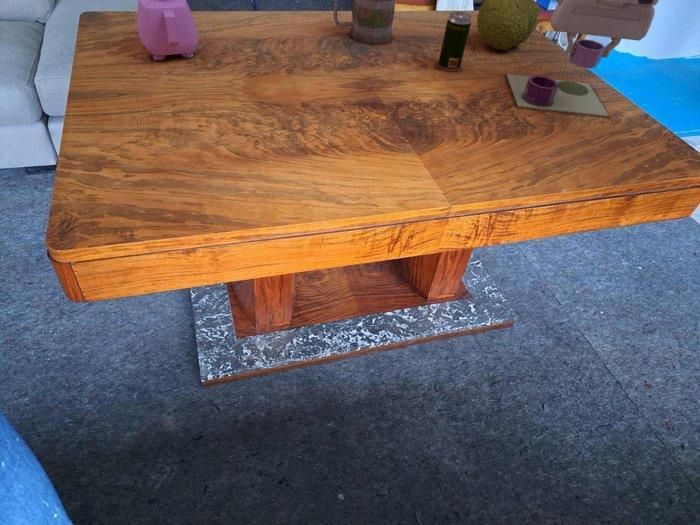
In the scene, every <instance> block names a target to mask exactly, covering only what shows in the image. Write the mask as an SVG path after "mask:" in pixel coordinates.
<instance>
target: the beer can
mask: <svg viewBox="0 0 700 525" xmlns="http://www.w3.org/2000/svg"><path fill="white" fill-rule="evenodd" d="M471 24H472V16H471V14H469V13H468V12H463V11H458V10H457V11H456V10H455V11H451V12H450V13H449V15H448V17H447V19H446V24H445V29H444V35H443V40H442V44H441V49H440V54H439V58H438V68H440V70H442V71H445V72H450V73H451V72H452V73H453V72H457V71H458V70H460V68H461V66H462V61H463V58H464V53H465V49H466V45H467V41H468V38H469V34H470V28H471Z"/></svg>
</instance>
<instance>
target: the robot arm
mask: <svg viewBox="0 0 700 525" xmlns="http://www.w3.org/2000/svg"><path fill="white" fill-rule="evenodd" d="M659 1H660V0H557V3H556V6H555V8H554V10H553V13H552V15H551V18H550V20H549V24H550V26H551V29H552V30H553V31H554V32H560V33H566V39H567V46H566V49H565V52H566V54H569V55H570V54H574V52H575V50H576V47H577V46H576V45H575V44H574V43H575V42H574V41H573V40H574V39H576V37H577V35H585V36H594V37H595V36H596V37H602V38H603V37H604V38H610V40H611V41H609V43H607V45H606V46H604V47H605V51H604V53H603V56H602V58H605V59H606V58H608V57H609V55H610V53H611V51H612V50H614V49H615V48H616V47H617V46H618V45H620V43H621V41H622V40H631V41H639V42H640V41H641V40H642V39H644V38H645V37H646V36H647V35H648V33H649V30H650V28H651V25H652V22H653V20H654V17H655V15H656V14H655V12H656V10H655V7H654V6H656V5H657V4H658V3H659Z"/></svg>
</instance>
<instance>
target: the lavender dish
mask: <svg viewBox="0 0 700 525" xmlns="http://www.w3.org/2000/svg"><path fill="white" fill-rule="evenodd" d="M573 43H574V44H575V45H576V46H577V47H576V50H575V52H574V54H570V53H569V58H568V60H569V62H570V63H571V64H572V65H575V67H576V66H577V67H580V68H583V69H595V68H597V67H598V65H599V64H600V62H601V60H602V58H603V57H602V56H603V53H604V51H605V47H606V46H604V44H602V43H601V42H598V41H595V40H592V39H586V38H585V39H584V38H580V39H577V40H575V41H574V42H573Z"/></svg>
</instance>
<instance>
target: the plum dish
mask: <svg viewBox="0 0 700 525" xmlns="http://www.w3.org/2000/svg"><path fill="white" fill-rule="evenodd" d="M529 77H530V78H529V79H528V82H527V85H526V87H525V90H524V99H525V100H526V101H528V102H530V103H532V104H535V105H540V106H546V105H549V104H551V102H552V100H554V97H555V95H556V92H557V89H558V87H559V85H558V83H557V81H555V80H556V79H555V80H553V79H554V78H550V77H549V76H545V75H531V76H529Z"/></svg>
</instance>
